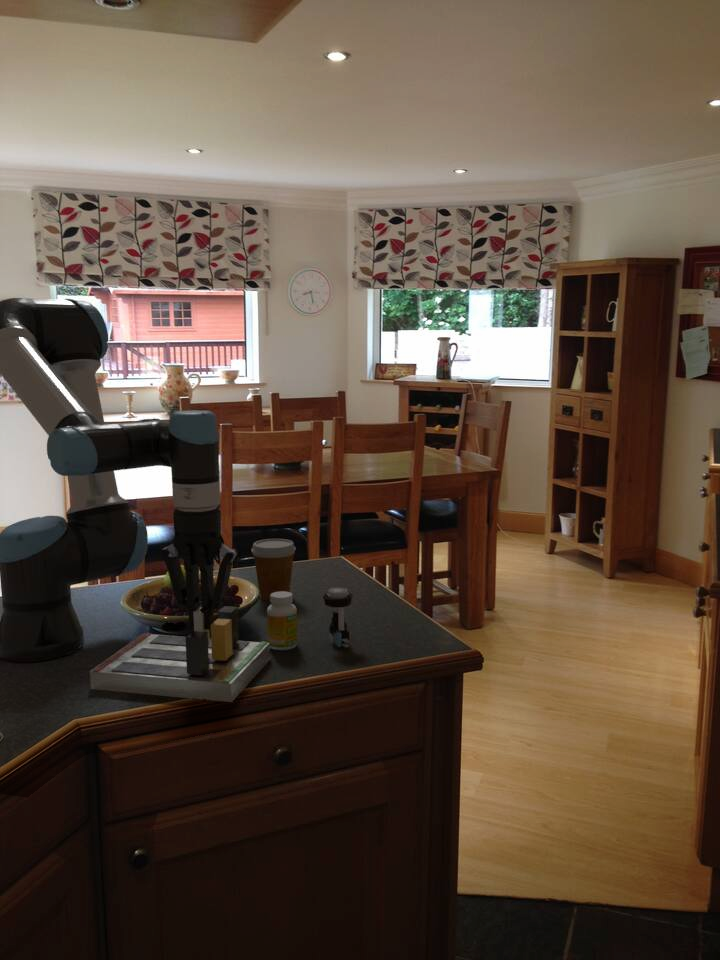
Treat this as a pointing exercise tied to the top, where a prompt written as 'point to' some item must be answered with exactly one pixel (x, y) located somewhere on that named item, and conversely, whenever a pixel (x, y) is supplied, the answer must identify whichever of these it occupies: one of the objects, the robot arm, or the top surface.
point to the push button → (338, 615)
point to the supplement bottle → (282, 621)
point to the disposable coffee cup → (273, 565)
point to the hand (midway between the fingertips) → (202, 647)
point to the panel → (182, 665)
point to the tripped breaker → (221, 639)
